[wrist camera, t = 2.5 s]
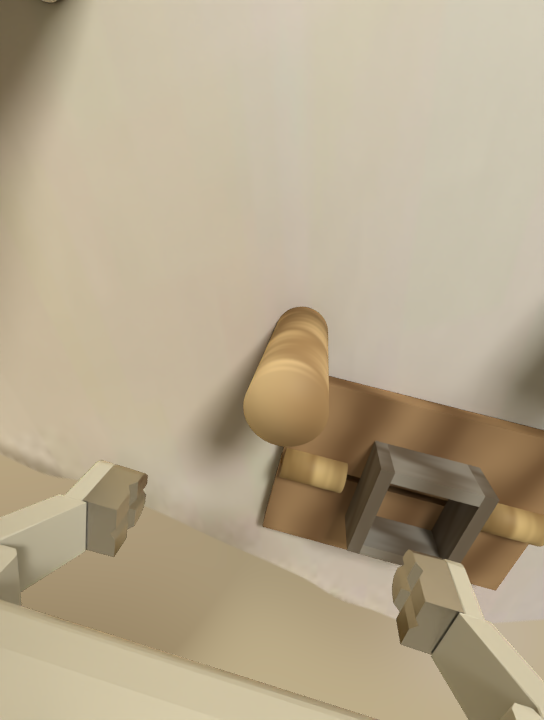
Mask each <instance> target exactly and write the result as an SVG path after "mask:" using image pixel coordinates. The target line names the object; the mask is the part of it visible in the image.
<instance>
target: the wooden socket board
mask: <svg viewBox="0 0 544 720" xmlns="http://www.w3.org/2000/svg"><path fill="white" fill-rule="evenodd" d="M263 527H266V528H270V529H274V530H277V531H281V532H284V533H288V534H292V535H295V536H299V537H303V538H306V539H310V540H314V541H317V542H321V543H325V544H328V545H332V546H335V547H339V548H343V549H346V550H348V551H351V552H355V553H359V554H362V555H366V556H369V557H373V558H377V559H380V560H384V561H388V562H391V563H395V564H399V565H402V566H403V565H404V561H403V556H404V554H405V553H406V551H408V550H409V549H410V550H414V551H418V552H421V553H425V554H428V555H432V556H436V557H439V558H442V559H447V560H450V561H454V562H458V563H461V564H462V565H463V566H464V568H465V570H466V573H467V575H468V578H469V581H470V583H471V584H474V585H477V586H481V587H485V588H488V589H492V590H496V589H497V588H498V586H499V585H500V584H501V582H502V581H503V579H504V578H505V577H506V575H507V574H508V572H509V571H510V570H511V568H512V567H513V565H514V564H515V563H516V561H517V560H518V558H519V557H520V556H521V554H522V553H523V551H524V550H525V549H526V547H527V546H528V544H531V545H535V546H543V545H544V430H540V429H536V428H533V427H529V426H525V425H521V424H517V423H513V422H509V421H505V420H501V419H497V418H493V417H489V416H485V415H481V414H477V413H473V412H469V411H465V410H461V409H457V408H453V407H449V406H446V405H442V404H438V403H434V402H430V401H426V400H422V399H418V398H414V397H410V396H406V395H402V394H398V393H394V392H390V391H386V390H382V389H378V388H374V387H370V386H366V385H362V384H359V383H355V382H351V381H347V380H343V379H339V378H335V377H331V376H329V417H328V421H327V424H326V426H325V428H324V430H323V431H322V432H321V434H320V435H319V436H317V437H316V438H315V439H314V440H312V441H310V442H308V443H306V444H303V445H300V446H294V447H283V452H282V454H281V458H280V462H279V465H278V469H277V473H276V476H275V480H274V483H273V487H272V491H271V494H270V498H269V502H268V505H267V509H266V512H265V517H264V522H263Z"/></svg>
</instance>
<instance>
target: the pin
mask: <svg viewBox="0 0 544 720" xmlns="http://www.w3.org/2000/svg"><path fill="white" fill-rule="evenodd" d="M243 410H244V415H245V419H246V421H247V423H248V425H249V426H250V428H251V429H252V430H253V432H254V433H255V434H257V435H258V436H259V437H260V438H262V439H263V440H265V441H267V442H269V443H271V444H274V445H278V446H284V447H294V446H300V445H303V444H306V443H308V442H310V441H312V440H314V439H315V438H316V437H317V436H319V435H320V434H321V432H322V431H323V430H324V428H325V426H326V424H327V421H328V417H329V373H328V328H327V324H326V322H325V320H324V318H323V317H322V316H321V315H320V314H319V313H318V312H317V311H315V310H313V309H311V308H308V307H296V308H292V309H290V310H288V311H287V312H285V313H284V314H283V315H282V316H281V317H280V319H279V321H278V323H277V325H276V327H275V330H274V332H273V334H272V336H271V339H270V341H269V343H268V345H267V348H266V350H265V352H264V354H263V357H262V359H261V361H260V363H259V366H258V368H257V370H256V372H255V375H254V377H253V379H252V381H251V383H250V386H249V388H248V390H247V392H246V395H245V398H244V403H243Z"/></svg>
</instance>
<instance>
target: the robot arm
mask: <svg viewBox="0 0 544 720" xmlns="http://www.w3.org/2000/svg"><path fill="white" fill-rule="evenodd" d="M41 1H44V2H49V3H52V2H55V1H57V0H41ZM147 478H148V475H147V474H145V473H142V472H139V471H136V470H133V469H130V468H127V467H123V466H120V465H117V464H113V463H110V462H106V461H103V460H100V461H98V462H96V463H95V464H94V465H93V466H92V467H91V468H90V469H89V470H88V471H87V473H86V474H85V475H84V476H83V477H82V478H81V479H80V480H79V481H78V482H77V483H76V484H75V485H74V486H73V487H72V488H71V489H70V490H69V491H68V492H67V493H66V494H65V495H60V494H59V495H56V496H54V497H51V498H48V499H46V500H43V501H41V502H38V503H35V504H33V505H30V506H28V507H25V508H23V509H20V510H17V511H15V512H12V513H9V514H7V515H4V516H2V517H0V720H378V719H375V718H372V717H369V716H365V715H362V714H359V713H356V712H353V711H350V710H347V709H344V708H340V707H337V706H334V705H331V704H328V703H325V702H321V701H318V700H315V699H312V698H309V697H306V696H302V695H299V694H296V693H293V692H290V691H287V690H283V689H281V688H277V687H274V686H271V685H268V684H264V683H262V682H259V681H255V680H252V679H249V678H246V677H243V676H240V675H237V674H233V673H230V672H227V671H224V670H221V669H218V668H214V667H211V666H208V665H205V664H202V663H199V662H196V661H193V660H189V659H186V658H183V657H180V656H177V655H173V654H171V653H167V652H164V651H161V650H158V649H155V648H152V647H149V646H146V645H142V644H139V643H136V642H133V641H130V640H127V639H124V638H120V637H117V636H114V635H111V634H108V633H105V632H101V631H98V630H95V629H92V628H89V627H86V626H83V625H80V624H76V623H73V622H70V621H67V620H64V619H61V618H58V617H54V616H51V615H48V614H45V613H42V612H39V611H36V610H33V609H29V608H26V607H23V606H21V595H20V592H22V591H23V590H25V589H27V588H28V587H30V586H31V585H33V584H35V583H36V582H38V581H39V580H41V579H42V578H44V577H46V576H47V575H49V574H50V573H52V572H53V571H55V570H57V569H58V568H60V567H61V566H63V565H65V564H66V563H68V562H69V561H71V560H72V559H74V558H76V557H77V556H79V555H80V554H82V553H84V552H85V550H90V551H93V552H97V553H101V554H104V555H108V556H112V557H114V556H115V555H116V553H117V552H118V550H119V549H120V547H121V546H122V544H123V542H124V541H125V539H126V537H127V529H129V528H131V527H133V526H134V525H135V524H136V522H137V521H138V519H139V517H140V515H141V513H142V510H143V508H144V504H145V499H146V494H145V492H144V491H143V489H144V488H145V486H146V485H147ZM403 561H404V565H403V566H401V567H399V568H397V570H396V572H395V575H394V578H393V584H392V596H393V603H394V604H395V606H396V607H397V609H398V610H399V612H400V613H399V615H398V617H397V618H396V621H397V627H398V633H399V638H400V644H401V645H404V646H407V647H410V648H413V649H416V650H419V651H422V652H425V653H428V654H431V655H432V656H431V657H432V659H433V661H434V662H435V664H436V666H437V667H438V669H439V671H440V672H441V674H442V676H443V677H444V679H445V681H446V682H447V684H448V686H449V687H450V689H451V691H452V693H453V694H454V696H455V698H456V699H457V701H458V703H459V704H460V706H461V708H462V709H463V711H464V712H465V714H466V716H467V718H468V720H544V681H543V680H542V679H541V678H540V677H539V676H538V674H537V673H536V672H535V671H534V670H533V669H532V668H531V667H530V666H529V664H528V663H527V662H526V661H525V660H524V659H523V658H522V657H521V655H520V654H519V653H518V652H517V651H516V650H515V649H514V648H513V647H512V646H511V644H510V643H509V642H508V641H507V640H506V639H505V638H504V636H503V635H502V634H501V633H500V632H499V631H498V630H497V629H496V628H495V626H494V625H493V624H492V623H491V622H489V621H486V620H485V619H484V616H483V614H482V611H481V609H480V606H479V603H478V601H477V598H476V596H475V593H474V591H473V588H472V586H471V583H470V581H469V578H468V575H467V573H466V570H465V568H464V566H463V565H462V564H461V563H458V562H454V561H450V560H447V559H442V558H439V557H436V556H432V555H428V554H425V553H421V552H418V551H414V550H410V549H409V550H408V551H406V553H405V554H404V556H403Z"/></svg>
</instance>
